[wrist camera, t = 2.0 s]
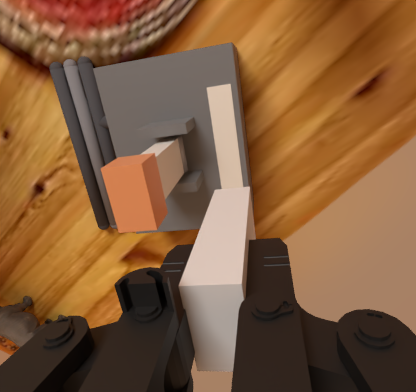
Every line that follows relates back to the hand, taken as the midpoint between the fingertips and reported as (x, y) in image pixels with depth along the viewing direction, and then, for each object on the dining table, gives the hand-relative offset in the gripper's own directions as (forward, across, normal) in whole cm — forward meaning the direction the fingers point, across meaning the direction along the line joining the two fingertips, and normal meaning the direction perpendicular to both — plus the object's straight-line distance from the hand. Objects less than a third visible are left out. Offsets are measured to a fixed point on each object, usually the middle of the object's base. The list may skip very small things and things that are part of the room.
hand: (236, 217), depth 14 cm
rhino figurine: (+21, -36, -21) cm, 47 cm away
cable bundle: (+21, -16, 0) cm, 26 cm away
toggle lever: (+13, -6, 0) cm, 15 cm away
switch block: (+21, -6, 0) cm, 22 cm away
